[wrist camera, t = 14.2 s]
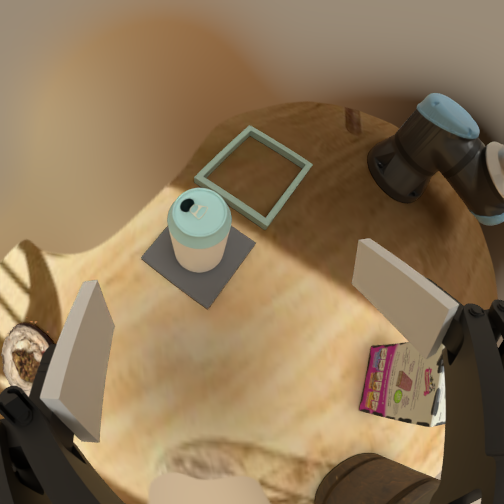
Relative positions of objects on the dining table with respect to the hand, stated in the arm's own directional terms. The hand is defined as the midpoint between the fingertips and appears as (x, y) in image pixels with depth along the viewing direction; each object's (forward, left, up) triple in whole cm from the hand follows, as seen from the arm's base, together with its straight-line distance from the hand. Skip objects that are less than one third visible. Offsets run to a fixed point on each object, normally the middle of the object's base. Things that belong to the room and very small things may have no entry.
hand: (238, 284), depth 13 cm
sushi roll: (+24, -19, -26) cm, 40 cm away
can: (-7, -8, -25) cm, 27 cm away
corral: (-24, -9, -26) cm, 36 cm away
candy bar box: (-6, +27, -26) cm, 38 cm away
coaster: (-7, -8, -26) cm, 28 cm away
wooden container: (+13, +36, -26) cm, 46 cm away
